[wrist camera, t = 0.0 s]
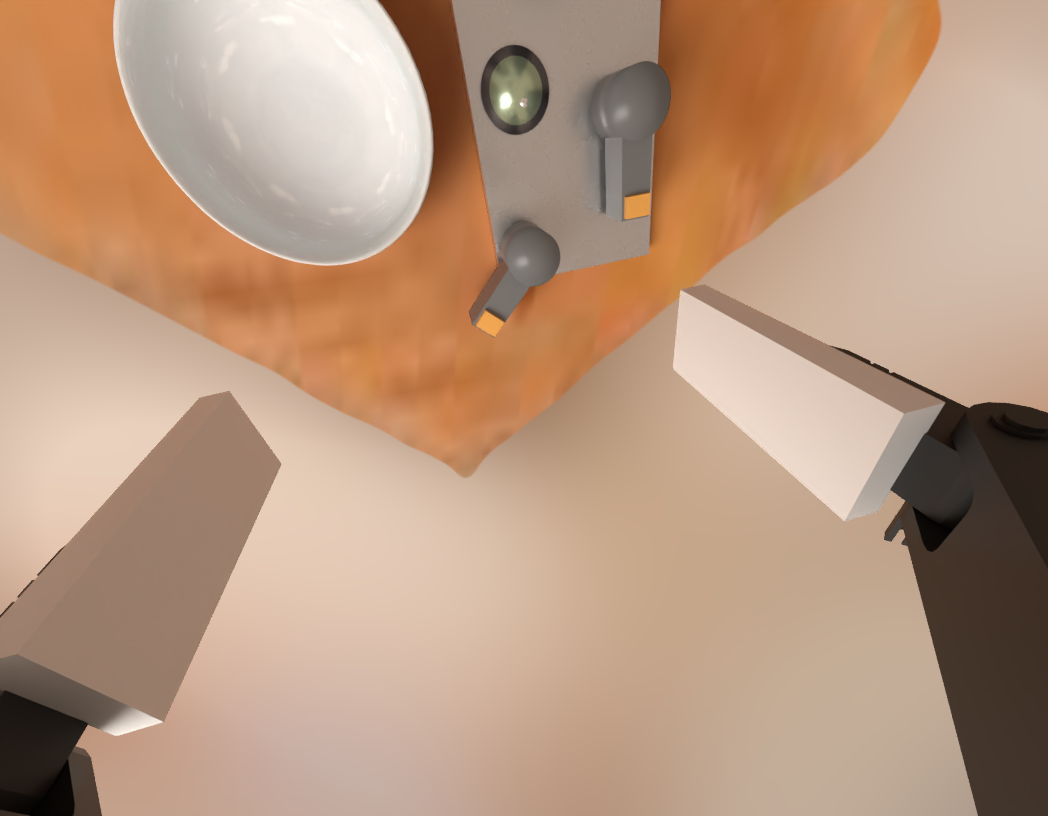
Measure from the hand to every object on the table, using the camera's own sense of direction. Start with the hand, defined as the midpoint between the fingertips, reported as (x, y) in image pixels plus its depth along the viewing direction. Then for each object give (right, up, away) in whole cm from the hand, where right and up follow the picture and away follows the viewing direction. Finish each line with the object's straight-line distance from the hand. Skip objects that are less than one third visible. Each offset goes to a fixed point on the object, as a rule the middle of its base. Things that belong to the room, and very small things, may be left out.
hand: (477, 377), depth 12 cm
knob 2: (+9, +21, +21) cm, 31 cm away
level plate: (+4, +25, +19) cm, 31 cm away
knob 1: (0, +12, +24) cm, 27 cm away
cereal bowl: (-14, +20, +17) cm, 30 cm away
